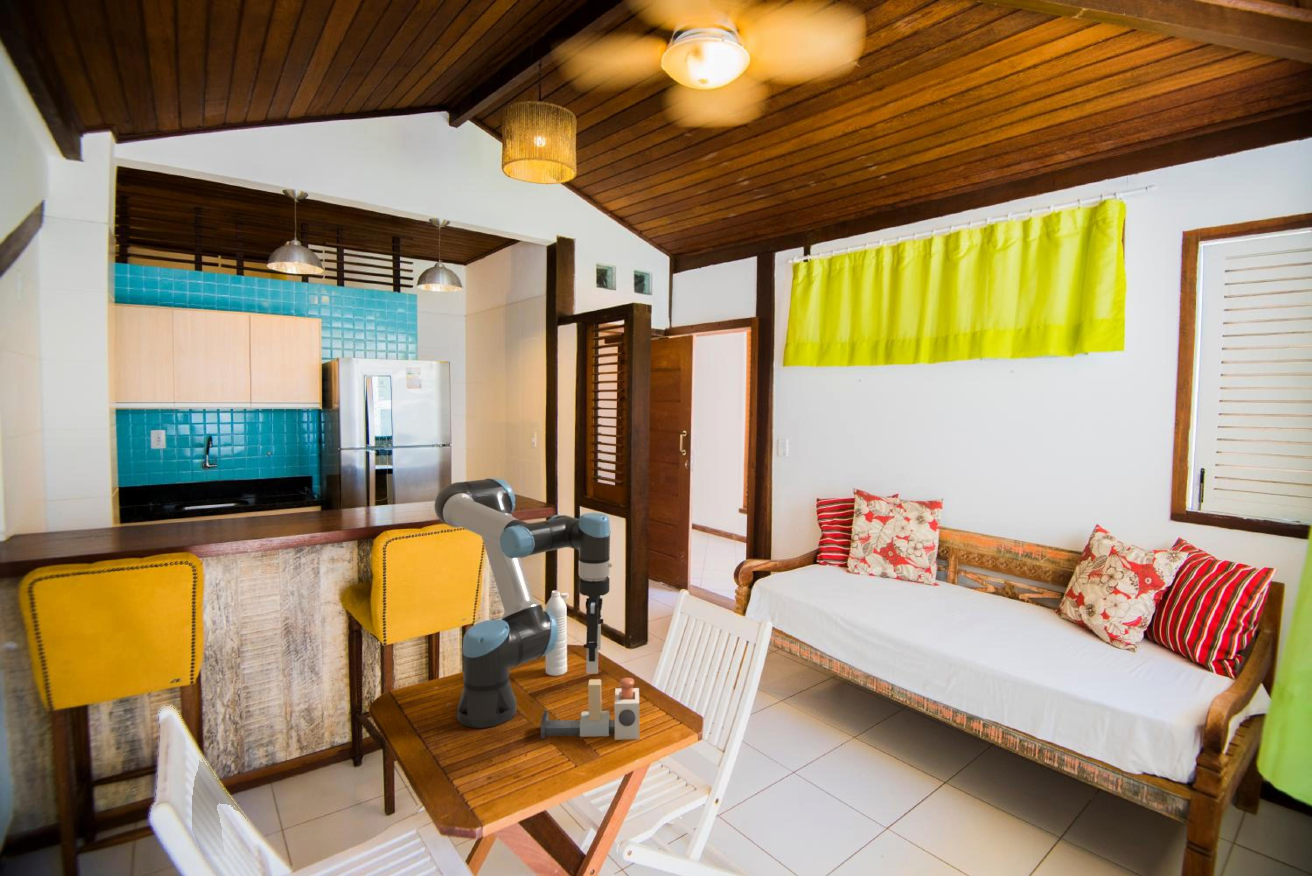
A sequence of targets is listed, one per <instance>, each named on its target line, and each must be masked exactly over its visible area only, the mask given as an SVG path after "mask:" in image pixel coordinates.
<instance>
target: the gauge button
mask: <svg viewBox="0 0 1312 876" xmlns="http://www.w3.org/2000/svg"><path fill="white" fill-rule="evenodd" d="M619 685H620V688H621V700H629V699H633V688H634V685H635V679H634V678H632V677H622V678H621V679H620V680H619Z"/></svg>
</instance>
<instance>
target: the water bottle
mask: <svg viewBox="0 0 1312 876" xmlns="http://www.w3.org/2000/svg"><path fill="white" fill-rule="evenodd" d="M560 592H561V591H560V590H552V591H551V594H550V595H551V596H550V598H549V599H548V601H547V603H546V604H545V605H544V606H545V607H544V611H548V612H550V613H551V615H553V616H554V618H555V620H556V622H557V626H558V639H557V642H556V646H555V647H554V649H553V650H552V651H551V652H550V653H548V654H546V655H545V674H546V675H549V676H555V677H556V676H561V675H565V673H567V672H568V644H567V643H568V639H567V638H568V637H567V636H568V631H567V629H568V628H567V627H568V626H567V625H568V624H567V623H568V622H567V619H568V618H567V617H568V616H567V603H565V600H564V599H569V597H570V594H569V592H561V593H560Z"/></svg>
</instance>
